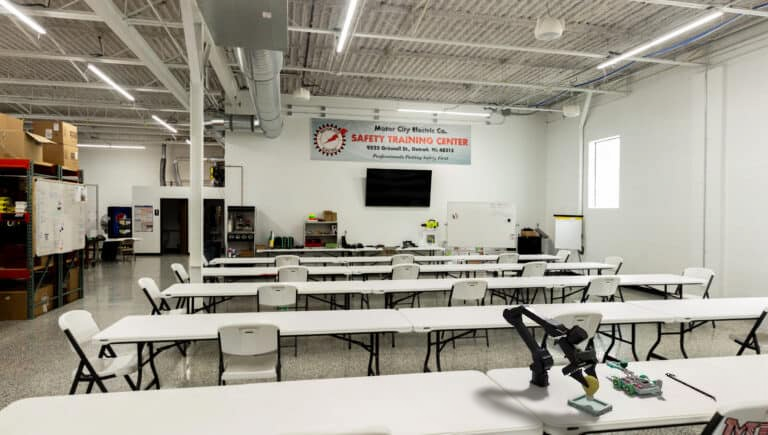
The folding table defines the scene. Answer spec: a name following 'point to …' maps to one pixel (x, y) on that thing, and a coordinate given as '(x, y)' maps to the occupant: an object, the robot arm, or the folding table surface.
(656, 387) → the robot kit
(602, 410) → the tray
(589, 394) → the light bulb
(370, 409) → the folding table surface
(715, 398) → the crowbar
